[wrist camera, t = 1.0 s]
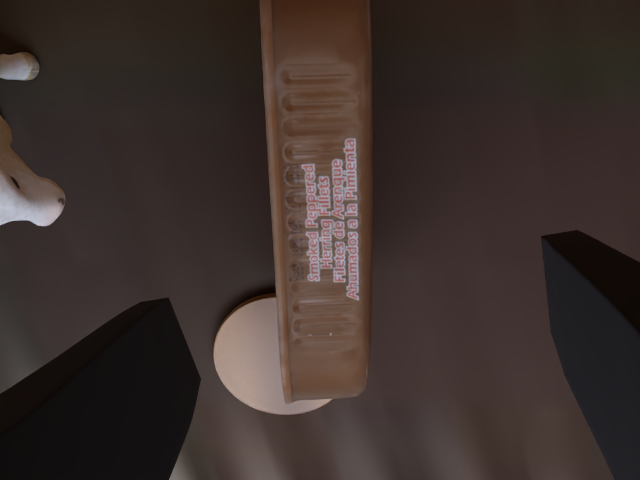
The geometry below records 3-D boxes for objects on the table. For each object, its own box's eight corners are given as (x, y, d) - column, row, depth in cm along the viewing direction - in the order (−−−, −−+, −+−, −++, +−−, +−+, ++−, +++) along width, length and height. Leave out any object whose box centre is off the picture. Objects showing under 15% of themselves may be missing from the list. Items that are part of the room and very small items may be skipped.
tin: (268, -81, 20) (220, -120, 12) (364, -84, 20) (377, -125, 12) (288, 318, 26) (264, 462, 18) (362, 318, 26) (371, 463, 18)
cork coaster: (249, 424, 28) (248, 430, 28) (191, 318, 26) (189, 323, 26) (372, 387, 27) (372, 392, 27) (321, 273, 25) (321, 277, 25)
